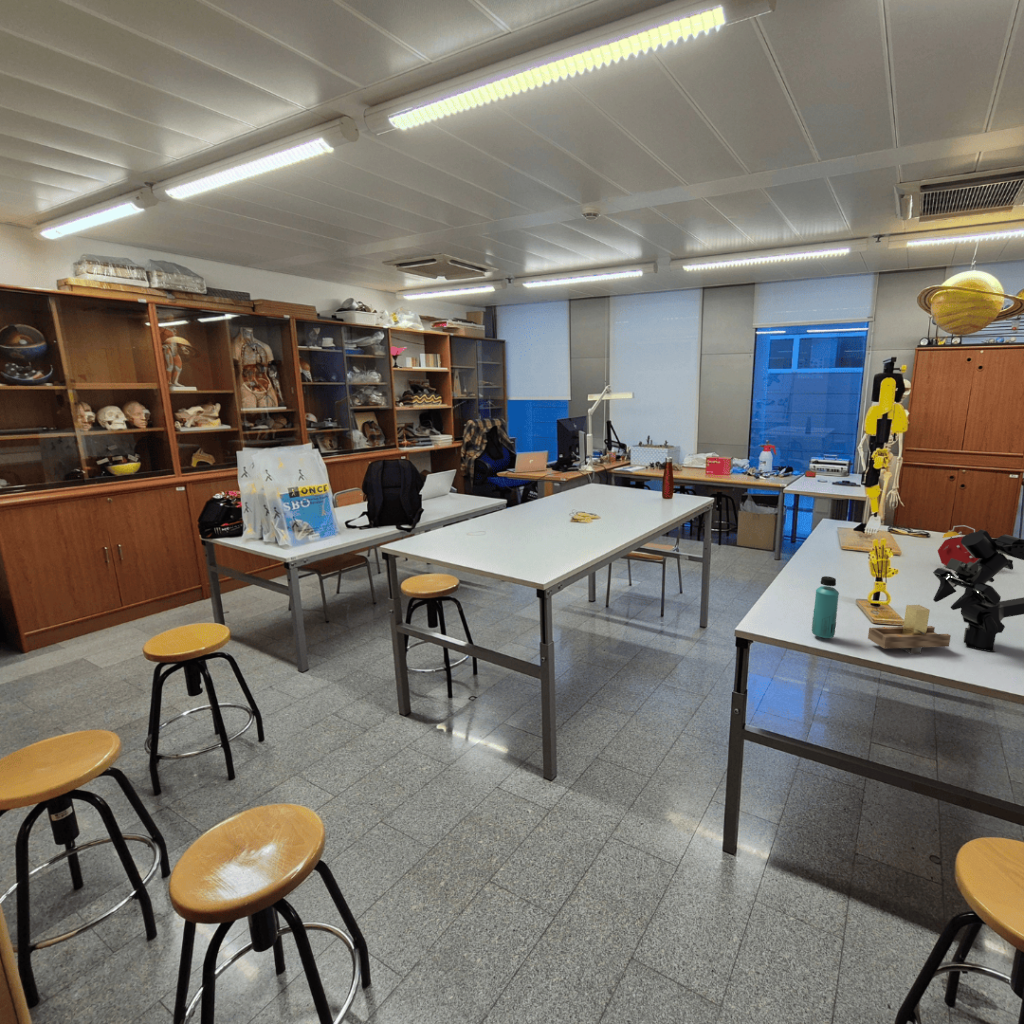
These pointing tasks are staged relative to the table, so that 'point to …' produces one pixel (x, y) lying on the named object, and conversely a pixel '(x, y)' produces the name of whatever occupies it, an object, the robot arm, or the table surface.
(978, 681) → the table surface
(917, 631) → the beige upright block
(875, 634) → the wooden footed tray
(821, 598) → the beverage bottle
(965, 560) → the alarm clock
